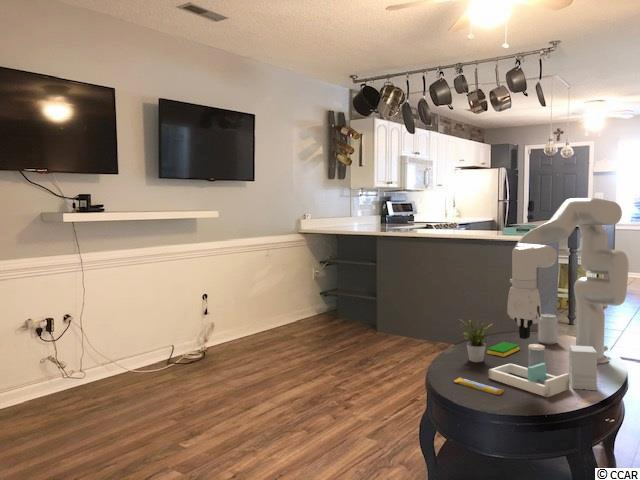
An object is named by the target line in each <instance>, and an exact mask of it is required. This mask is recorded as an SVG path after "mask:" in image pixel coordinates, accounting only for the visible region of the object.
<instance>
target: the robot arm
mask: <svg viewBox="0 0 640 480" xmlns="http://www.w3.org/2000/svg"><path fill="white" fill-rule="evenodd" d="M622 216H623V211H622V208H621V206H620V205H619V203H618V202H615V201H611V200H608V199H607V200H606V199H603V198H598V197H575V198H568V199H565V201H563V202H562V203H561V205H560V206H559V207H558V208H557V209H556V210H555V212H554V214H553V215H552V216H551V217H550V219H549V220H548V221H547V222H545V223H542V224H540V225H538V226H536V227H535V228H533V229H531V230H529V231H528V232H526V233H525V234H523V236H521V238H520V239H519V240H518V241H517V243H516V244H515V246H514V247H513V249H512V253H511V254H512V255H511V256H512V257H511V261H512V263H511V265H512V266H511V267H512V268H511V269H512V270H511V271H512V272H511V273H512V274H511V275H512V276H511V277H512V278H510V279H509V283H510V284H512V285H511V287H509V292H508V296H507V297H508V298H507V315H508V316H509V318H510V319H512V320H514V321H515V322H516V324H517V326H518V331H519V332H518V334H519V339H523V340H526V339H529V338H530V337H531V327H532V326H533V325H534V324H535V325H536V324H539V323H540V316H541V314H542V306H541V304H542V303H541V296H540V292H539V288H538V287H537V285H538V284H537V282H538V280H537V276H538V275H537V268H550V267H552V266H554V265H555V263H556V262H557V259H558V253H557V250H556V249H555V248H554V247H553V246H551V245H549V244H553V243H557V242H562V241H564V240H566V239H568V238H569V237H570V236H571V235H572V233H573V232H574V230H575V229H576V227H577V226H578V227H577V228H579V231H580V233H581V238H582V241H581V253H580V269H581V270H582V271H584V272H585V273H588V274H595V275H603V276H609V277H608V278H603V277H598V276H597V277H594V276H582V277H579V278H578V279H576V281H575V282H574V285H573V293H574V297H575V304H576V307H575V308H576V322H575V323H576V324H575V330H576V331H575V346H592V347H593V348H594V349H595V351H596V352H597V365H601V364H606V363H608V362H609V357H608V356H606V355H605V352H607V351H608V350H609V347H608V346H606V345H605V322H606V321H605V320H606V316H605V312H604V309H603V307H602V306H601V305H606V306H615V307H616V306H621V305H622V304H624V302H625V300H626V298H627V292H628V291H627V290H628V280H629V266H630V264H629V258H628V255H626V253H625V252H624V251H622V250H619V249H609V248H608V240H609V238H608V237H609V236H608V233H607V231H606V230H605V228H604V227H603V226H615V225H617V224H618V223H620V221H621V219H622Z"/></svg>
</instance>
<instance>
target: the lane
mask: <svg viewBox="0 0 640 480" xmlns="http://www.w3.org/2000/svg"><path fill="white" fill-rule="evenodd" d="M522 377H523V378H522ZM488 379H490V380H493V381H496V382H499V383H503V384H506V385H508V386H511V387H515V388H518V389H521V390H524V391H526V392H527V391H528V392H530V393H533V394H535V395H536V394H537V395H539V396H542V397H544V398H545V397H546V398H549V397H552V396H555V395H558V394H560V393H562V392H565V391H567V390H570V382H569V372H568V373H567V372H566V373H561V375H557V376H556V375H553V374H550V373H547V372H546V380H545V385H543V384H539V383H536V382H533V381H530V380H528V367H525V366H522V365H518V364H516V363H515V364H514V363H510V362H509V363H507V364H503V365H500V366H496V367H494V368H493V367H492V368H489V369H488Z"/></svg>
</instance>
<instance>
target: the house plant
mask: <svg viewBox="0 0 640 480" xmlns="http://www.w3.org/2000/svg"><path fill="white" fill-rule="evenodd" d="M457 320H459V321H461V322H462V323H464V324H462V323H461V326H460V327H461V328H463V329H464V330H465V331H466V332H463V334H462V335H464V337H463V340H468V341H469V342H467V343H466V348H467V355H468V360H469V362H473V363H482V362H483V361H484V357H485V351H486V348H487V347H486V345H487V344H486V343H485V342H486V341H485V340H486V339H488V338H489V334H484V333H485V332H486V330H488V329H489V327H491V326H492V325H493V324H494V323H491V324H488V326H485V327H484V322H480V323H482V324H481V326H480V328H479V331H478V327H479V324H480V323H479V324H476V327H475V326H474V324H473V322H472V320H468V322H469V324H470V327H471V329H470V328H469V326H468V324H467V322H465V321H463V320H462V319H457ZM479 320H480V318H478V320H477V322H476V323H478V322H479ZM462 325H463V326H462ZM465 327H466V328H465ZM486 336H487V337H486Z"/></svg>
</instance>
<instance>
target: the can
mask: <svg viewBox="0 0 640 480" xmlns="http://www.w3.org/2000/svg"><path fill="white" fill-rule="evenodd" d="M558 325H559V319H558V318H557V315H555V314H551V313H541V316H540V323H538V338H537V339H538V342H540V343H541V344H544V345H555V344H556V343H558V338H559V337H558V333H559V331H558V330H559V327H558Z"/></svg>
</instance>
